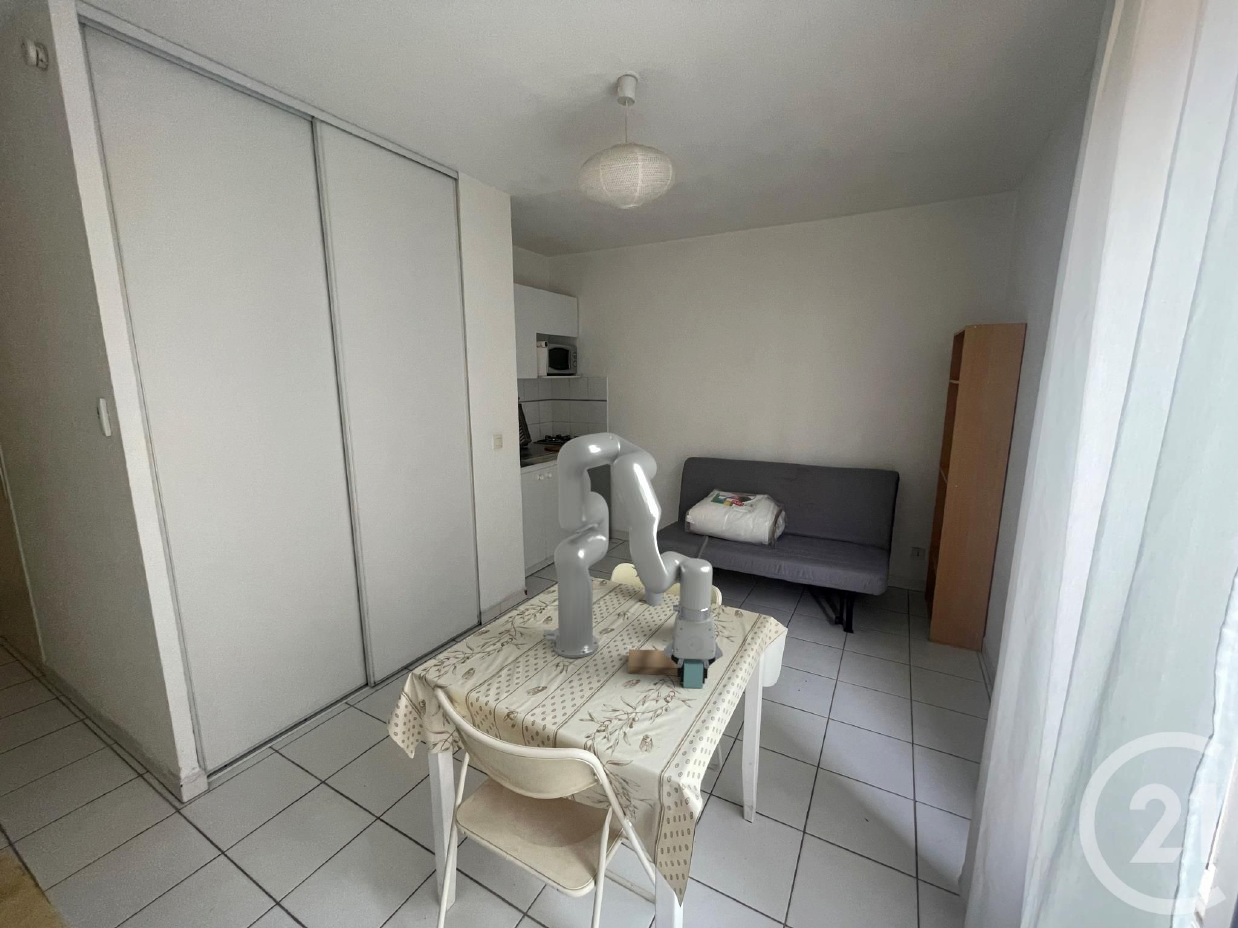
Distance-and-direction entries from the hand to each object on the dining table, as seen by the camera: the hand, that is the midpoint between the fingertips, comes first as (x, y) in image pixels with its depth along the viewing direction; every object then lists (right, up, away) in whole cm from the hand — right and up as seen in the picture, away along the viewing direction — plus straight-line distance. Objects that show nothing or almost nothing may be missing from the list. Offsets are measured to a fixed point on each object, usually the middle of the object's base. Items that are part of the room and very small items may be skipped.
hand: (692, 679), depth 122 cm
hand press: (+4, +3, +22) cm, 23 cm away
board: (-6, 0, +7) cm, 9 cm away
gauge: (0, 0, +3) cm, 3 cm away
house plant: (-6, +7, +46) cm, 46 cm away
